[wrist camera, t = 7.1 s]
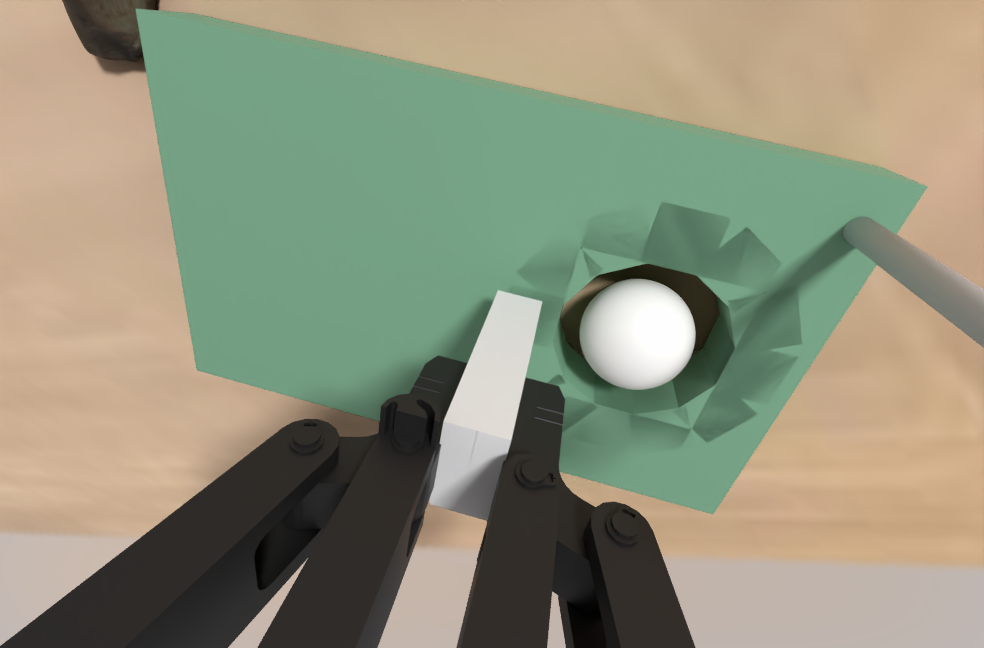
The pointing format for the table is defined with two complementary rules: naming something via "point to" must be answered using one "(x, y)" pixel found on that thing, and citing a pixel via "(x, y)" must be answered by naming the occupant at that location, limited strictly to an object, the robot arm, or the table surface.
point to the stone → (109, 26)
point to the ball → (637, 334)
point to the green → (503, 240)
